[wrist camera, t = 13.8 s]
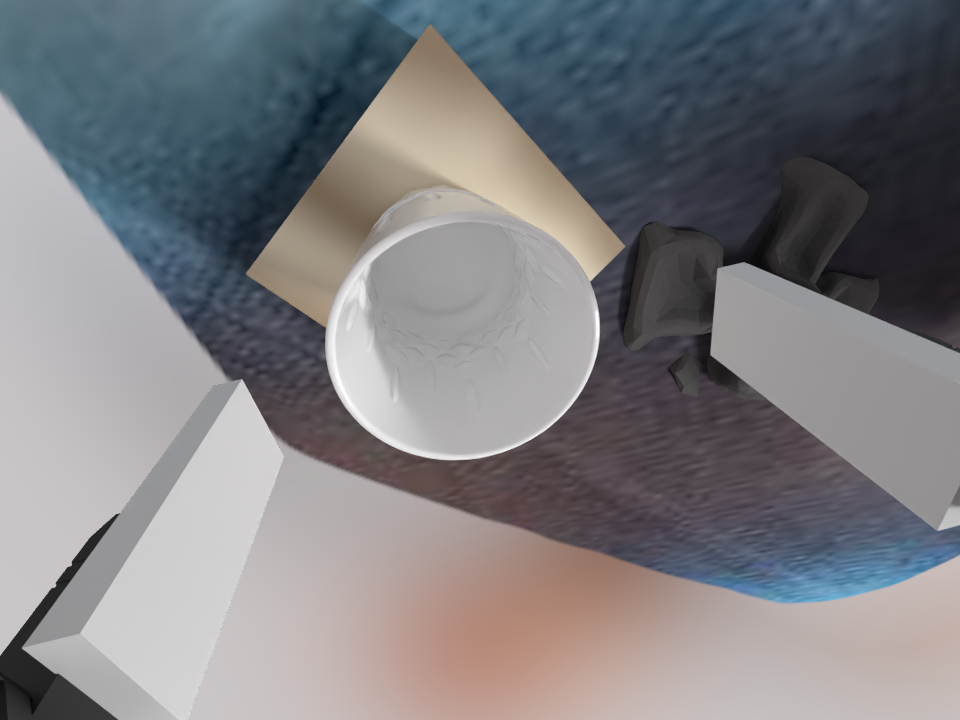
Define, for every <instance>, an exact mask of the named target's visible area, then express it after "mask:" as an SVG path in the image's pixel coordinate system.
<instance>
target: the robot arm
mask: <svg viewBox="0 0 960 720" xmlns="http://www.w3.org/2000/svg"><path fill="white" fill-rule="evenodd" d="M710 355H711V356H712V357H714V358H715V359H716V360H718V361H719V362H720V363H722V364H723V365H724V366H725V367H727V368H728V369H729V370H731V371H732V372H733V373H734V374H736V375H737V376H738V377H740V378H741V379H742V380H743V381H745V382H746V383H747V384H749V385H750V386H751V387H752V388H754V389H755V390H756V391H758V392H759V393H760V394H762V395H763V396H764V397H765V398H767V399H768V400H769V401H771V402H772V403H773V404H774V405H776V406H777V407H778V408H780V409H781V410H782V411H783V412H785V413H786V414H787V415H789V416H790V417H791V418H792V419H794V420H795V421H796V422H798V423H799V424H800V425H802V426H803V427H804V428H805V429H807V430H808V431H809V432H811V433H812V434H813V435H814V436H816V437H817V438H818V439H820V440H821V441H822V442H823V443H825V444H826V445H827V446H829V447H830V448H831V449H832V450H834V451H835V452H836V453H838V454H839V455H840V456H842V457H843V458H844V459H845V460H847V461H848V462H849V463H851V464H852V465H853V466H854V467H856V468H857V469H858V470H860V471H861V472H862V473H863V474H865V475H866V476H867V477H869V478H870V479H871V480H872V481H874V482H875V483H876V484H878V485H879V486H880V487H882V488H883V489H884V490H885V491H887V492H888V493H889V494H891V495H892V496H893V497H894V498H896V499H897V500H898V501H900V502H901V503H902V504H903V505H905V506H906V507H907V508H909V509H910V510H911V511H912V512H914V513H915V514H916V515H918V516H919V517H920V518H922V519H923V520H924V521H925V522H927V523H928V524H929V525H931V526H932V527H933V528H934V529H936V530H937V531H939V530H942V529H946V528H950V527H954V526H958V525H960V348H954V349H953V348H952V345H950V344H947V343H945V342H943V341H940V340H938V339H935V338H933V337H931V336H928V335H926V334H923V333H919V332H915V331H910V330H906V329H902V328H899V327H896V326H894V325H892V324H889V323H887V322H885V321H882V320H880V319H877V318H875V317H873V316H870V315H868V314H866V313H863V312H861V311H859V310H856V309H854V308H851V307H849V306H847V305H844V304H842V303H840V302H837V301H835V300H832V299H830V298H828V297H825V296H823V295H821V294H818V293H816V292H814V291H811V290H809V289H806V288H804V287H802V286H799V285H797V284H795V283H792V282H790V281H787V280H785V279H783V278H780V277H778V276H776V275H773V274H771V273H769V272H766V271H764V270H761V269H759V268H757V267H754V266H752V265H750V264H747V263H745V262H743V263H739V264H734V265H730V266H726V267H721V268H718V269H717V281H716V292H715V304H714V316H713V328H712V340H711V351H710ZM283 458H284V456H283V454H282V452H281V450H280V449H279V447H278V445H277V443H276V441H275V439H274V438H273V436H272V434H271V432H270V430H269V428H268V426H267V425H266V423H265V421H264V419H263V417H262V415H261V413H260V412H259V410H258V408H257V406H256V404H255V402H254V400H253V399H252V397H251V395H250V393H249V391H248V389H247V387H246V386H245V384H244V382H243V380H242V379H241V380H236V381H232V382H228V383H224V384H219V385H215V386H213V387H212V388H211V390H210V391H209V392H208V394H207V395H206V396H205V398H204V399H203V400H202V402H201V403H200V405H199V406H198V407H197V409H196V410H195V412H194V413H193V414H192V416H191V417H190V418H189V420H188V421H187V423H186V424H185V425H184V427H183V428H182V429H181V431H180V432H179V433H178V435H177V436H176V438H175V439H174V440H173V442H172V443H171V445H170V446H169V447H168V448H167V450H166V451H165V453H164V454H163V455H162V457H161V458H160V459H159V461H158V462H157V464H156V465H155V466H154V468H153V469H152V471H151V472H150V473H149V474H148V476H147V477H146V479H145V480H144V481H143V483H142V484H141V486H140V487H139V488H138V490H137V491H136V492H135V494H134V495H133V496H132V498H131V499H130V501H129V502H128V503H127V505H126V506H125V507H124V509H123V510H122V512H121V513H119V514H116V515H115V516H114V517H112V518H111V519H110V520H109V521H108V522H107V523H106V524H105V525H104V526H102V528H100V529H99V530H98V531H97V532H96V533H95V534H94V535H92V536H91V537H90V538H89V540H88V541H87V542H86V544H85V545H84V546H83V548H82V549H81V550H80V552H79V553H78V554H77V556H76V557H75V558H74V559H73V561H72V566H70V567H67V569H66V570H65V572H64V573H63V574H62V575H61V577H60V578H59V579H58V581H57V582H56V587H55V588H52V589H51V590H50V591H49V593H48V594H47V595H46V596H45V598H44V599H43V600H42V602H41V603H40V604H39V606H38V607H37V608H36V609H35V611H34V612H33V614H32V615H31V616H30V617H29V619H28V620H27V621H26V623H25V624H24V625H23V627H22V628H21V629H20V631H19V632H18V633H17V635H16V636H15V637H14V638H13V640H12V641H11V642H10V644H9V645H8V646H7V648H6V649H5V650H4V652H3V653H2V654H1V656H0V720H188V718H189V715H190V713H191V710H192V707H193V705H194V701H195V699H196V696H197V693H198V691H199V688H200V685H201V683H202V680H203V677H204V674H205V672H206V669H207V666H208V664H209V661H210V658H211V655H212V652H213V650H214V647H215V644H216V641H217V639H218V636H219V633H220V631H221V628H222V625H223V622H224V620H225V617H226V614H227V612H228V609H229V606H230V603H231V601H232V598H233V595H234V592H235V589H236V586H237V584H238V581H239V579H240V576H241V573H242V571H243V568H244V565H245V562H246V559H247V557H248V554H249V551H250V549H251V546H252V543H253V540H254V538H255V535H256V532H257V530H258V527H259V524H260V521H261V518H262V516H263V513H264V510H265V508H266V505H267V502H268V499H269V497H270V494H271V491H272V489H273V486H274V483H275V480H276V478H277V475H278V472H279V469H280V466H281V464H282V461H283Z"/></svg>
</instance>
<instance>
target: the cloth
mask: <svg viewBox="0 0 960 720" xmlns="http://www.w3.org/2000/svg"><path fill="white" fill-rule="evenodd" d="M781 173H782V196H781V201H780V204H779V207H778V210H777V212H776V215H775V218H774V220H773V222H772V224H771V226H770V228H769V230H768V231H767V233H766V235H765V237H764V239H763V240H762V242H761V244H760V246H759V248H758V250H757V253H756V254H755V256H754V258H753V259H752V261H751V264H750V265H752V266H754V267H757V268H759V269H761V270H764V271H766V272H769V273H771V274H773V275H776V276H778V277H780V278H783V279H785V280H787V281H790V282H792V283H795V284H797V285H799V286H802V287H804V288H806V289H809V290H811V291H814V292H816V293H818V294H821V295H823V296H825V297H828V298H830V299H832V300H835V301H837V302H840V303H842V304H844V305H847V306H849V307H851V308H854V309H856V310H859V311H861V312H863V313H866V314H869V313H870V311H871V309H872V308H873V306H874V304H875V302H876V301H877V299H878V297H879V283H878V280H877V278H875V279H860V278H857V277H854V276H850V275H846V274H842V273H838V272H827V273H823V274H821V273H822V271H823V269H824V268H825V266H826V265H827V263H828V261H829V260H830V258H831V257H832V255H833V254H834V252H835V251H836V250H837V248H838V247H839V246H840V244H841V243H842V242H843V240H844V239H845V238H846V236H847V235H848V233H849V232H850V231H851V229H852V228H853V226H854V225H855V223H856V222H857V220H858V219H860V218H861V217H862V215H863V213H864V211H865V209H866V208H867V203H868V198H869V196H868V194H867V193H866V191H865V190H863V189H862V188H861V187H859V186H858V185H857V184H856V183H855V182H854V181H853V180H852V179H851V178H850V177H849V176H847V175H844V174H843V173H841V172H839V171H838V170H836V169H834V168H833V167H831V166H829V165H827V164H825V163H822V162H820V161H817V160H815V159H812V158H810V157H797V158H794V159H791V160H789V161H787V162H786V163H785V165H784V168H783V170H782V171H781ZM723 255H724V248H723V247H722V246H721V244H720V243H719V242H718V241H717V240H716V239H714V238H712V237H710V236H709V235H706V234H704V233H701V232H697V231H685V230H674V229H672V228H671V227H668V226H664V225H663V224H661V223H660V222H654V223H651V224H649V225H647V226H645V227H643V228H642V231H641V235H640V243H639V250H638V256H637V263H636V268H635V273H634V279H633V284H632V290H631V298H630V306H629V310H628V314H627V318H626V322H625V327H624V331H623V335H624V343H625V346H626V348H628V349H629V350H630V351H631V350H638V349H640V348H641V347H642V346H644V345H645V344H646V343H648V342H649V341H650V340H652V339H654V338H657V337H664V336H673V335H682V336H693V335H701V334H706V333H710V332H711V340H712V328H713V316H714V304H715V292H716V281H717V269H718V268H721V267H725V265H724V262H723ZM710 351H711V341H710V347H709V352H708V356H707V370H708V373H709V376H710V379H711V382H713V383H715V384H716V385H717V386H719V387H721V388H724V389H727V390H728V391H729V392H730V393H731V394H732V396H733V397H739V398H745V399H752V400H759V401H765V400H766V399H767V398H765V397H764V396H763V395H762V394H760V393H759V392H758V391H756V390H755V389H754V388H752V387H751V386H750V385H749V384H747V383H746V382H745V381H743V380H742V379H741V378H740V377H738V376H737V375H736V374H734V373H733V372H732V371H731V370H729V369H728V368H727V367H725V366H724V365H723V364H722V363H720V362H719V361H718V360H716V359H715V358H714V357H712V356H711V355H710ZM701 364H702V363H701V362H700V361H699V360H698V359H697V358H696V357H695V356H694V355H693V354H691V353H689V354H685V355H682V356H681V357H680V358H679V359H678V360H676V361H675V362H674V363H673V364H672V365H670V366H669V368H670V370H671V372H672V374H673V375H674V377H675V379H676V382H677V384H678V387H679V389H680V391H681V393H682V394H685V395H689V396H692V397H695V398H696V397H697V396H698V395H699V391H698V390H699V380H700V374H699V370H700V367H701Z"/></svg>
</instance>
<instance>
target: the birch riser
mask: <svg viewBox="0 0 960 720" xmlns="http://www.w3.org/2000/svg"><path fill="white" fill-rule="evenodd" d="M439 185H447V186H450V187H453V188H457V189H460V190H464V191H469V192H472V193H475V194H477V195H480V196H482V197H484V198H486V199H488V200H490V201H492V202H494V203H497V204H499V205H500V206H502V207H504V208H506V209H507V210H509V211H511V212H512V213H514V214H515V215H517V216H519V217H520V218H522V219H524V220H525V221H527V222H529V223H531V224H532V225H534V226H536V227H538V228H539V229H541V230H543V231H544V232H546V233H548V234H549V235H550V236H552V237H553V238H555V239H556V240H557V241H558V242H560V243H561V244H562V245H563V246H564V247H565V248H566V249H567V250H568V251H569V252H570V253H571V254H572V255H573V256H574V258H575V259H576V260H577V262H578V263H579V264H580V266H581V267H582V269H583V270H584V272H585V274H586V276H587V277H588V279H589V282H590V281H591V280H592V279H593V278H594V277H595V276H596V275H597V274H598V273H599V272H600V271H601V270H602V269H603V268H604V267H605V266H606V265H607V264H608V263H609V262H610V261H611V260H612V259H613V258H614V257H615V256H616V255H617V254H618V253H619V252H620V251H621V250H622V249H623V248H624V247H625V245H624V244H623V243H622V242H621V241H620V240H619V239H618V237H617V236H616V235H615V234H614V233H613V232H612V231H611V230H610V228H609V227H608V226H607V225H606V224H605V223H604V222H603V220H602V219H601V218H600V217H599V216H598V215H597V214H596V212H595V211H594V210H593V209H592V208H591V207H590V206H589V204H588V203H587V202H586V201H585V200H584V199H583V198H582V196H581V195H580V194H579V193H578V192H577V191H576V190H575V188H574V187H573V186H572V185H571V184H570V183H569V182H568V180H567V179H566V178H565V177H564V176H563V175H562V174H561V172H560V171H559V170H558V169H557V168H556V167H555V166H554V164H553V163H552V162H551V161H550V160H549V159H548V158H547V156H546V155H545V154H544V153H543V152H542V151H541V150H540V148H539V147H538V146H537V145H536V144H535V143H534V142H533V140H532V139H531V138H530V137H529V136H528V135H527V134H526V133H525V131H524V130H523V129H522V128H521V127H520V126H519V125H518V123H517V122H516V121H515V120H514V119H513V118H512V117H511V115H510V114H509V113H508V112H507V111H506V110H505V109H504V107H503V106H502V105H501V104H500V103H499V102H498V101H497V99H496V98H495V97H494V96H493V95H492V94H491V93H490V91H489V90H488V89H487V88H486V87H485V86H484V85H483V83H482V82H481V81H480V80H479V79H478V78H477V77H476V75H475V74H474V73H473V72H472V71H471V70H470V69H469V67H468V66H467V65H466V64H465V63H464V62H463V61H462V59H461V58H460V57H459V56H458V55H457V54H456V53H455V51H454V50H453V49H452V48H451V47H450V46H449V45H448V43H447V42H446V41H445V40H444V39H443V38H442V37H441V36H440V34H439V33H438V32H437V31H436V30H435V29H434V28H433V26H432V25H431V24H429V26H428V27H427V28H426V30H425V31H424V33H423V34H422V35H421V37H420V38H419V39H418V41H417V42H416V43H415V45H414V46H413V47H412V49H411V50H410V52H409V53H408V54H407V56H406V57H405V58H404V60H403V61H402V62H401V64H400V65H399V66H398V68H397V69H396V71H395V72H394V73H393V75H392V76H391V77H390V79H389V80H388V81H387V83H386V84H385V85H384V87H383V88H382V90H381V91H380V92H379V94H378V95H377V96H376V98H375V99H374V100H373V102H372V103H371V105H370V106H369V107H368V109H367V110H366V111H365V113H364V114H363V115H362V117H361V118H360V119H359V121H358V122H357V124H356V125H355V126H354V128H353V129H352V130H351V132H350V133H349V134H348V136H347V137H346V138H345V140H344V141H343V143H342V144H341V145H340V147H339V148H338V149H337V151H336V152H335V153H334V155H333V156H332V157H331V159H330V160H329V162H328V163H327V164H326V166H325V167H324V168H323V170H322V171H321V172H320V174H319V175H318V176H317V178H316V179H315V181H314V182H313V183H312V185H311V186H310V187H309V189H308V190H307V191H306V193H305V194H304V196H303V197H302V198H301V200H300V201H299V202H298V204H297V205H296V206H295V208H294V209H293V210H292V212H291V213H290V215H289V216H288V217H287V219H286V220H285V221H284V223H283V224H282V225H281V227H280V228H279V229H278V231H277V232H276V234H275V235H274V236H273V238H272V239H271V240H270V242H269V243H268V244H267V246H266V247H265V248H264V250H263V251H262V253H261V254H260V255H259V257H258V258H257V259H256V261H255V262H254V263H253V265H252V266H251V267H250V269H249V270H248V272H247V273H246V275H248V276H249V277H251V278H252V279H254V280H255V281H257V282H258V283H260V284H261V285H263V286H264V287H266V288H267V289H269V290H270V291H272V292H273V293H275V294H276V295H278V296H279V297H281V298H282V299H284V300H285V301H287V302H288V303H290V304H291V305H293V306H294V307H296V308H297V309H299V310H300V311H302V312H303V313H305V314H306V315H308V316H309V317H311V318H312V319H314V320H315V321H317V322H318V323H320V324H321V325H323V326H324V327H327V321H328V316H329V313H330V309H331V306H332V303H333V301H334V298H335V296H336V293H337V291H338V289H339V287H340V286H341V284H342V282H343V280H344V278H345V276H346V274H347V272H348V271H349V269H350V267H351V265H352V263H353V261H354V259H355V257H356V255H357V253H358V251H359V249H360V247H361V245H362V243H363V241H364V239H365V238H366V236H367V235H368V234H369V232H370V231H371V229H372V227H373V226H374V224H375V223H376V222H377V221H378V220H379V218H380V217H381V215H382V213H383V212H384V211H385V210H386V209H387V208H389V207H390V206H391V205H393V204H394V203H395V202H396V201H398V200H399V199H400V198H402V197H403V196H404V195H405V194H407V193H408V192H409V191H412V190H417V189H423V188H428V187H434V186H439Z"/></svg>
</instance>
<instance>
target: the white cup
mask: <svg viewBox="0 0 960 720" xmlns="http://www.w3.org/2000/svg"><path fill="white" fill-rule="evenodd" d="M599 336H600V320H599V311H598V306H597V301H596V298H595V294H594V291H593V289H592V286H591V284H590V282H589V279H588V277H587V276H586V274H585V272H584V270H583V269H582V267H581V266H580V264H579V263H578V262H577V260H576V259H575V258H574V256H573V255H572V254H571V253H570V252H569V251H568V250H567V249H566V248H565V247H564V246H563V245H562V244H561V243H560V242H558V241H557V240H556V239H555V238H553V237H552V236H550V235H549V234H548V233H546V232H544V231H543V230H541V229H539V228H538V227H536V226H534V225H532V224H531V223H529V222H527V221H525V220H524V219H522V218H520V217H519V216H517V215H515V214H514V213H512V212H511V211H509V210H507V209H506V208H504V207H502V206H500V205H499V204H497V203H494V202H492V201H490V200H488V199H486V198H484V197H482V196H480V195H477V194H475V193H472V192H469V191H464V190H460V189H457V188H453V187H450V186H447V185H439V186H434V187H428V188H423V189H417V190H412V191H409V192H408V193H407V194H405V195H404V196H403V197H402V198H400V199H399V200H398V201H396V202H395V203H394V204H393V205H391V206H390V207H389V208H387V209H386V210H385V211H384V212H383V213H382V215H381V217H380V218H379V220H378V221H377V222H376V223H375V224H374V226H373V227H372V229H371V231H370V232H369V234H368V235H367V236H366V238H365V239H364V241H363V243H362V245H361V247H360V249H359V251H358V253H357V255H356V257H355V259H354V261H353V263H352V265H351V267H350V269H349V271H348V272H347V274H346V276H345V278H344V280H343V282H342V284H341V286H340V287H339V289H338V291H337V293H336V296H335V298H334V301H333V303H332V306H331V309H330V313H329V316H328V321H327V327H326V336H325V351H326V360H327V366H328V370H329V374H330V377H331V380H332V383H333V385H334V388H335V390H336V392H337V394H338V396H339V398H340V399H341V401H342V403H343V404H344V406H345V407H346V409H347V410H348V411H349V413H350V414H351V415H352V416H353V417H354V418H355V419H356V421H357V422H358V423H359V424H360V425H362V426H363V427H364V428H365V429H366V430H367V431H369V432H370V433H371V434H373V435H374V436H375V437H377V438H378V439H380V440H382V441H383V442H385V443H387V444H389V445H391V446H393V447H395V448H397V449H400V450H402V451H405V452H408V453H411V454H414V455H418V456H422V457H427V458H433V459H441V460H467V459H475V458H482V457H487V456H491V455H495V454H498V453H501V452H504V451H507V450H510V449H512V448H515V447H517V446H519V445H521V444H523V443H525V442H527V441H529V440H531V439H533V438H534V437H536V436H537V435H539V434H540V433H542V432H543V431H545V430H546V429H547V428H549V427H550V426H551V425H552V424H554V423H555V422H556V421H557V420H558V419H559V418H560V417H561V416H562V415H563V414H564V413H565V412H566V411H567V410H568V409H569V407H570V406H571V405H572V404H573V402H574V401H575V400H576V398H577V397H578V396H579V394H580V393H581V391H582V389H583V388H584V386H585V384H586V382H587V380H588V378H589V376H590V373H591V371H592V368H593V366H594V363H595V359H596V355H597V351H598V345H599Z"/></svg>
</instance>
